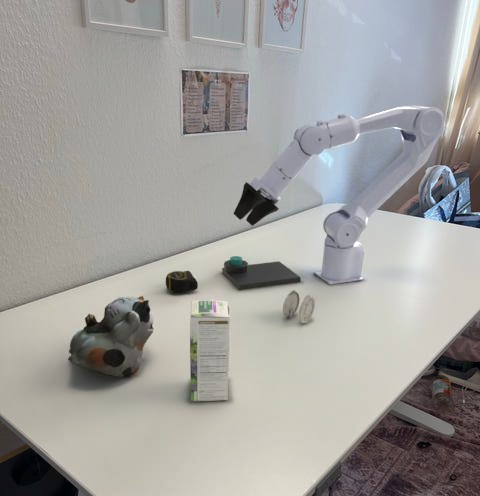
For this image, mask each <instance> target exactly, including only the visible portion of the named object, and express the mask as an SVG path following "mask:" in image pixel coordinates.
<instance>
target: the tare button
mask: <svg viewBox="0 0 480 496" xmlns="http://www.w3.org/2000/svg"><path fill="white" fill-rule="evenodd" d="M229 260H230V265H233V266H240V265H242V260H243V257H242V256H239V255H233V256H230V257H229Z"/></svg>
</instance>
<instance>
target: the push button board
mask: <svg viewBox="0 0 480 496" xmlns="http://www.w3.org/2000/svg"><path fill="white" fill-rule="evenodd" d="M221 274H223V276H224V277H226V279H227V280H228V281H229V282H230V283H231V284H232V285H233V286H234V287H235V288H236V289H237V290H238V291H246V290H252V289H259V288H267V287H275V286H282V285H288V284H297V283H301V276H300V275H299V274H297V273H296V272H294V271H293V270H292V269H290V268H289V267H287V266H286V265H285V264H284V263H282V262H281V261H271V262H262V263H254V264H249V262H248V261H246V260H243V259H242V265H240V266H233V265H230V259H228V260H225V261H224V263H223V267H221Z"/></svg>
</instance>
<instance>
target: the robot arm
mask: <svg viewBox="0 0 480 496" xmlns="http://www.w3.org/2000/svg"><path fill="white" fill-rule="evenodd" d="M393 128H394V129H397V130H399V132H400V136H401V139H402V142H403V143H402V153H401V154H400V155H399V156H397V157H396V158H395V160H394V161H392V162H391V164H389V165H388V166H387V167H386V168H385V169H384V170H383V171H382V172H381V173H380V174H379V175H378V176H377V177H376V178H375V179H374V180H373V181H372V182H371V183H370V184H369V185H368V186H367V187H366V188H365V189H364V190H363V191H362V192H361V193H360V194H359V195H357V197H356V198H354V199H353V201H351V202H349V203H346V204H344V205H342V206H340V208H339V209H337V210H336V211H333V212H331V213H329V214H327V216H326V217H325V218H324V220H323V224H322V226H323V231H324V233H325V234H326V237H325V238H324V242H323V243H324V244H323V254H322V263H321V270H317V271H314V272H313V273H314V275H316V276H317V277H318V278H319V279H322V280H323V281H324V282H326V283H327V284H329V285H336V284H337V285H338V284H343V283H351V282H359V281H363V277H362V272H363V265H364V257H365V252H364V247H363V245H362V244H361V242H359V241H358V240H360V239H359V238H360V237H361V234H362V232H363V231H365V229H366V228H367V227H368V220H369V218H370V217H371V216H372V215H373V214H374V213H375V212H376V211H377V210H378V209H380V207H382V206H383V205H384V203H386V202H387V200H388V199H390V198H391V197H392V196H393V195H394V194H395V193H396V192H397V191H398V190H399V189H400V188H401V187H402V186H403V185H404V184H405V183H406V182H407V181H408V180H410V179H411V178H412V176H414V175H415V174H416V173H417V172H418V171H419V170H420V169H421V168H423V166H424V165H425V164H427V162H428V160H429V158H430V156H431V154H432V152H433V150H434V147H435V145H436V144H437V141H438V139H439V138H440V137H441V136H442V135H444V132H445V116H444V113H443V112H442V110H441V109H439V108H438V107H435V106H430V107H428V106H420V105H416V104H413V105H410V106H399V107H394V108H391V109H387V110H384V111H381V112H378V113H373V114H371V115H367V116H363V117H361V118H357V119H356V118H354V117H353V116H352V115H350V114H349V115H346V114H345V113H340V114H337V117H335V118H333V119H328V120H325V121H323V120H322V119H321V120H316V125H313V124H303V125H302V126H300V128H297V129H296V130H295V131H294V133H293V139H292V141H291V142H290V143H289V144H288V146H287V147H285V148H284V150H283V151H282V152H281V153H280V155H278V157H277V158H276V159H275V161H274V162H273V163H272V165H271V166H270V167H269V168H268V169H267V170H266V172H265V173H264V174H263V175H262V177H261V178H258V177H257V176H255V177H254V178H253V179H252V180H251V182H250V183H249V182H247V181H246V182H245V183H244V184H243V189H242V193H241V196H240V199H239V200H238V203H237V204H236V207H235V209H234V211H233V215H234V216H235V217H236V218H237V219H238V220H240V221H241V220H243V219H244V218H245V217H246V216H247V217H246V219H245V221H246V222H247V223H248V224H249V225H250V226H252V227H253V226H255V225H256V224H257V223H259V222H260V221H262V220H263V219H264V218H265V217H267V216H269V215H271V214H273V213H275V212H277V211H279V210H280V207H278V206H277V205H278V204H279V203H280V202H281V200H282V199H283V198H282V197H281V195H282V194H283V193H284V192H285V191H286V189H287V188H288V187H289V186H290V185H291V183H292V182H293V181H294V180H295V178H296V177H297V176H298V175H299V174H300V172H301V171H303V169H304V168H305V166H306V165H307V164H308V163H309V161H310V160H311V159H312V158H313V157H314V155H316V156H319V155H321V154H322V153H323V152H324V151H325V150H329V149H333V148H338V147H341V146H345V145H350V144H353V143H355V141H356V140H357V139H358V137H359V136H360V135H365V134H369V133H374V132H379V131H383V130H389V129H393Z"/></svg>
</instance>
